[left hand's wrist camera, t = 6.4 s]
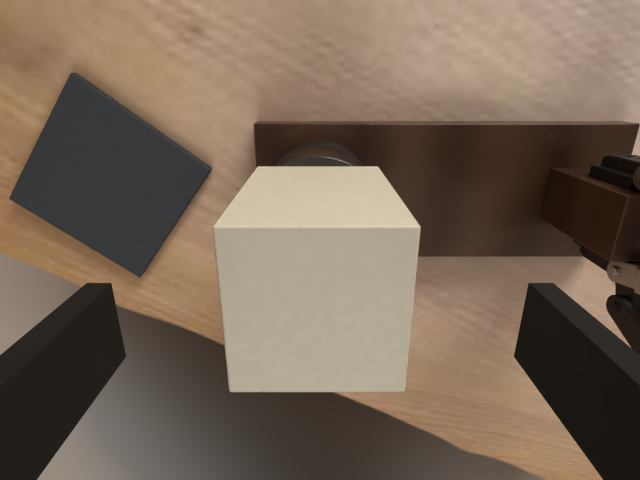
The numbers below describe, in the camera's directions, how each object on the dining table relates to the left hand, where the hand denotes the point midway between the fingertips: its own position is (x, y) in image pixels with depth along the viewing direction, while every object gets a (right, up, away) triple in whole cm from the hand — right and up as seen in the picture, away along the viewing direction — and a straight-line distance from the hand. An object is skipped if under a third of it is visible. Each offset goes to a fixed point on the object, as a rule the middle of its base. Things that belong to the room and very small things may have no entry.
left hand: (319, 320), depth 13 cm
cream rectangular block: (0, +3, +8) cm, 9 cm away
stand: (+8, +6, +15) cm, 18 cm away
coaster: (-14, +7, +15) cm, 22 cm away
